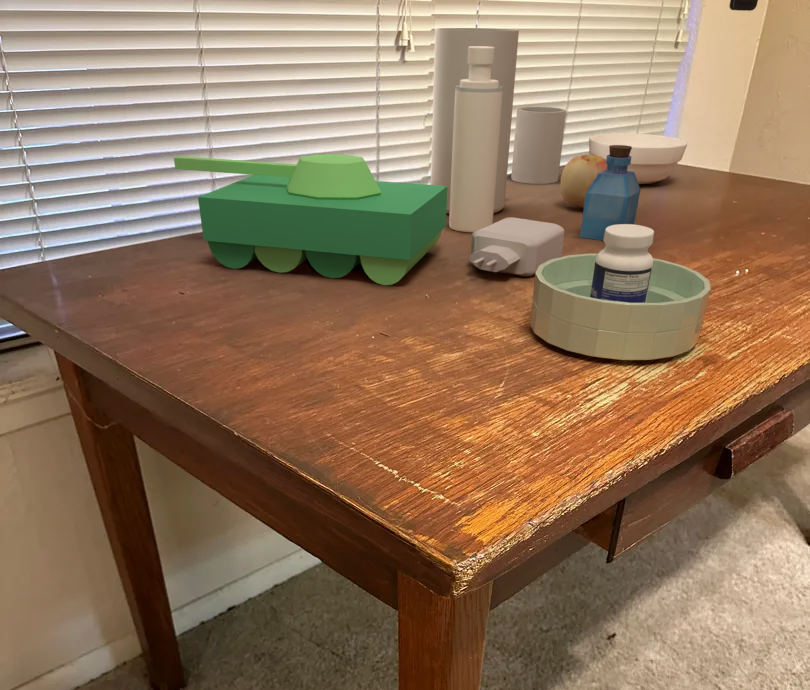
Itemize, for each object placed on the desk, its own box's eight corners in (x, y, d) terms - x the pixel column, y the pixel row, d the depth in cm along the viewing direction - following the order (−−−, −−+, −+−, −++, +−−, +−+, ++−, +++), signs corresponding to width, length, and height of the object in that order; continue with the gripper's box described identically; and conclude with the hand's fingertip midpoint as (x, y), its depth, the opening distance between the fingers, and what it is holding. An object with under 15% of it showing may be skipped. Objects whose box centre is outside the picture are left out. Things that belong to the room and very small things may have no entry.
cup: (521, 184, 144) (528, 113, 137) (504, 175, 151) (510, 107, 144) (565, 183, 146) (574, 112, 139) (546, 174, 153) (554, 106, 146)
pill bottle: (589, 316, 83) (604, 220, 77) (642, 323, 81) (662, 225, 75) (581, 333, 78) (596, 233, 72) (637, 341, 77) (658, 239, 71)
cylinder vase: (432, 199, 133) (437, 27, 118) (503, 201, 132) (517, 28, 117) (427, 215, 123) (432, 30, 108) (504, 218, 122) (520, 31, 107)
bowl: (627, 169, 158) (633, 130, 154) (698, 184, 146) (708, 142, 142) (564, 177, 150) (569, 137, 146) (634, 194, 138) (642, 150, 134)
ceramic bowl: (716, 327, 82) (730, 271, 79) (665, 380, 70) (679, 317, 67) (569, 297, 90) (576, 245, 86) (501, 340, 78) (507, 282, 75)
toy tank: (206, 139, 106) (448, 154, 98) (217, 231, 113) (444, 252, 105) (135, 159, 92) (411, 178, 84) (153, 262, 99) (409, 289, 91)
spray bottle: (451, 221, 120) (460, 31, 105) (493, 223, 119) (508, 32, 104) (446, 231, 114) (455, 33, 100) (490, 233, 114) (505, 34, 99)
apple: (583, 200, 133) (591, 150, 129) (621, 210, 127) (630, 158, 123) (546, 206, 129) (552, 154, 125) (583, 216, 123) (591, 162, 119)
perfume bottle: (620, 243, 110) (636, 151, 103) (579, 237, 113) (592, 147, 106) (632, 234, 115) (648, 145, 108) (593, 228, 117) (606, 142, 110)
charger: (446, 278, 95) (499, 251, 106) (512, 291, 91) (560, 262, 102) (448, 239, 92) (502, 215, 103) (516, 250, 89) (565, 225, 99)
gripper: (844, -221, 64) (786, 11, 74) (821, -188, 75) (772, 10, 85) (751, -217, 66) (705, 10, 75) (741, -185, 77) (702, 9, 86)
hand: (741, 10), depth 80 cm, fingers open, 8 cm apart
